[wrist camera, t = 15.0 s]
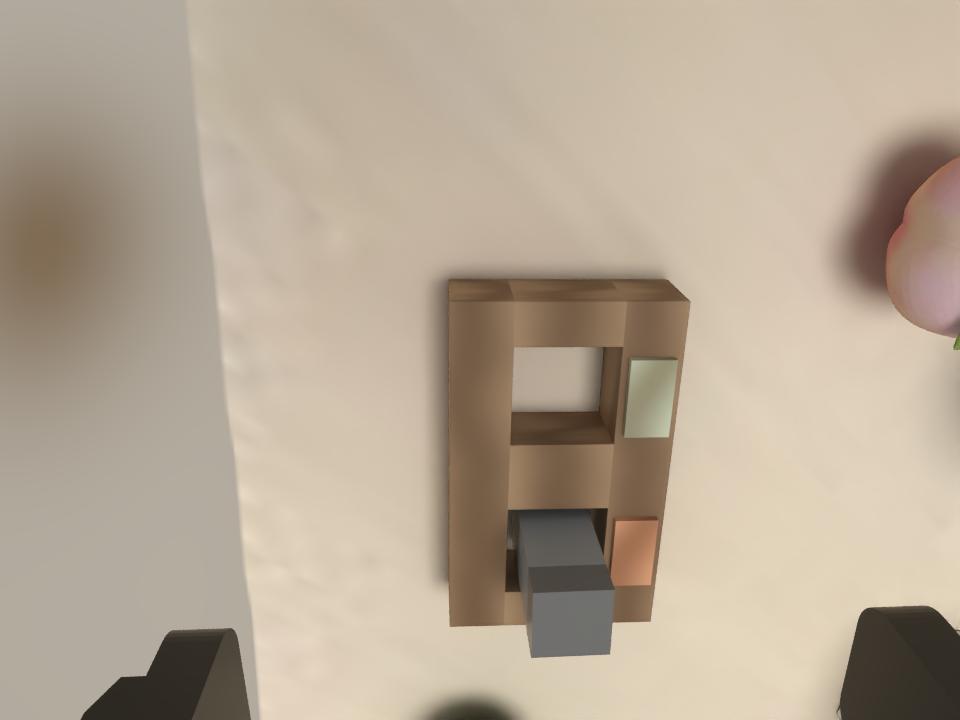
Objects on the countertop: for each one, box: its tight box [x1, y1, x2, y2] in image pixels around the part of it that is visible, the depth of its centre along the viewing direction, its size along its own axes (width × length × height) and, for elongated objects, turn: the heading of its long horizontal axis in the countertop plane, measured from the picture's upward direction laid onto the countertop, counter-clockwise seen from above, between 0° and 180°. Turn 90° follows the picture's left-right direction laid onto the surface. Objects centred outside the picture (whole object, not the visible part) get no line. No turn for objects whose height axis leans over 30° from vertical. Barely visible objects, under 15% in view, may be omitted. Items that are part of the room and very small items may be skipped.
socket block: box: [449, 280, 691, 627], centre depth 42 cm, size 12×20×4 cm, turn 179°
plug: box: [512, 508, 615, 658], centre depth 42 cm, size 4×4×10 cm
